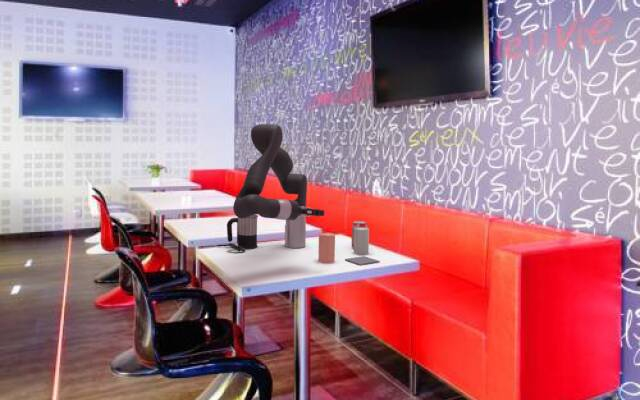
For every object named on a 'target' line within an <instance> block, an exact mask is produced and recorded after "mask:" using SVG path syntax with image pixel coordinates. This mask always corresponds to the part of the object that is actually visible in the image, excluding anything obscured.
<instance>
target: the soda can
mask: <svg viewBox="0 0 640 400" xmlns="http://www.w3.org/2000/svg"><path fill="white" fill-rule="evenodd" d="M352 223H353V224H352V225H351V247H352V248H353V249H354V229H355V228H356V227H366V228H368V225H367V222H366V221H362V220H360V221H358V220H355V221H353V222H352Z"/></svg>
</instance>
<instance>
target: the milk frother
mask: <svg viewBox="0 0 640 400" xmlns="http://www.w3.org/2000/svg"><path fill="white" fill-rule="evenodd" d="M258 217H259V214H254V215H252V216H250V217H247V218H244V219H242V218H238V217H232V218H230V219H229V220H228V221H227V223H226V234H227V235H226V237H227V241H228V242H229V243H228V246H229V247H230V248H232V249H233V250H235V251H237V252H239V253H240V252H246V250H251V249H252V250H253V249H257V248H258V233H257V232H258ZM234 223H236V226H237V227H236V244H234V243H231V242H233V224H234Z"/></svg>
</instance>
